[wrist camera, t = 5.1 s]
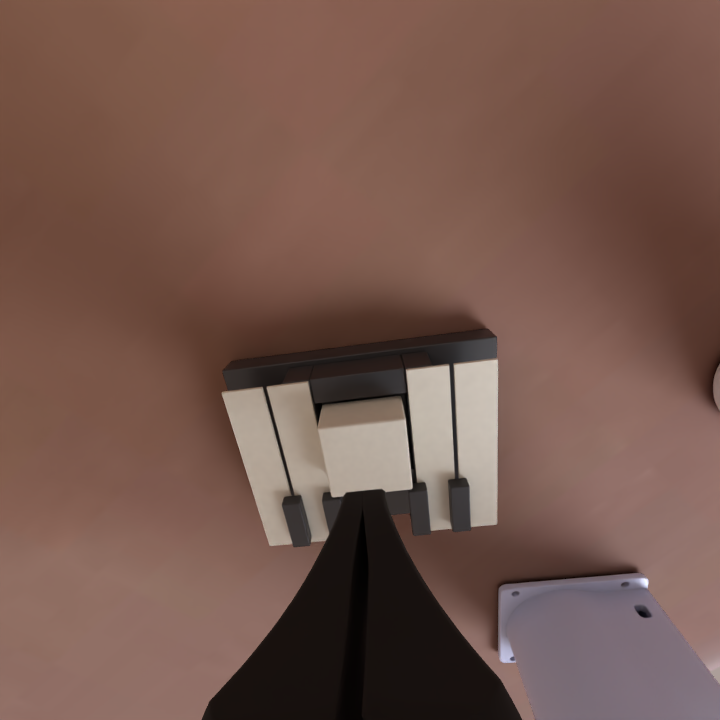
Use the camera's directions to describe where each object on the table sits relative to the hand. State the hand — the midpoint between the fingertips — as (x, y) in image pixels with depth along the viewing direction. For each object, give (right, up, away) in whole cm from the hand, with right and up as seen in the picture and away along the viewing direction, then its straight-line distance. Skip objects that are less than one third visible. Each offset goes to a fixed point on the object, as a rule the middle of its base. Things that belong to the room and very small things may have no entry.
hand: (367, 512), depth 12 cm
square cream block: (0, +2, +4) cm, 5 cm away
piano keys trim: (0, 0, +5) cm, 5 cm away
